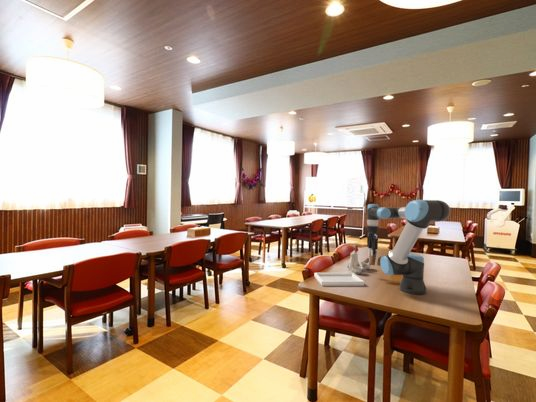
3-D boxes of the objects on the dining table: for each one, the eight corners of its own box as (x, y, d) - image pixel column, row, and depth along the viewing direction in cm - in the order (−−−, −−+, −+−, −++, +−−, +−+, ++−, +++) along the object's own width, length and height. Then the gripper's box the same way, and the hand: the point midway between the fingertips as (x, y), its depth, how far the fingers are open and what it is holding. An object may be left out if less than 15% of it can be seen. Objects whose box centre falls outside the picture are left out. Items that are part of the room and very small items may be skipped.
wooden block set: (390, 269, 190) (392, 255, 193) (387, 267, 184) (390, 252, 187) (364, 264, 201) (366, 251, 204) (361, 262, 194) (363, 248, 197)
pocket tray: (364, 286, 179) (364, 281, 179) (321, 286, 177) (321, 281, 177) (352, 276, 200) (352, 272, 199) (314, 276, 198) (314, 272, 198)
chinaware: (362, 278, 201) (365, 257, 199) (340, 272, 210) (343, 251, 209) (372, 270, 223) (374, 251, 222) (352, 265, 233) (354, 246, 232)
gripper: (362, 224, 203) (361, 255, 203) (372, 226, 186) (372, 260, 186) (372, 224, 203) (371, 255, 203) (383, 226, 186) (382, 260, 186)
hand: (371, 258), depth 195 cm, fingers closed on wooden block set, 4 cm apart
